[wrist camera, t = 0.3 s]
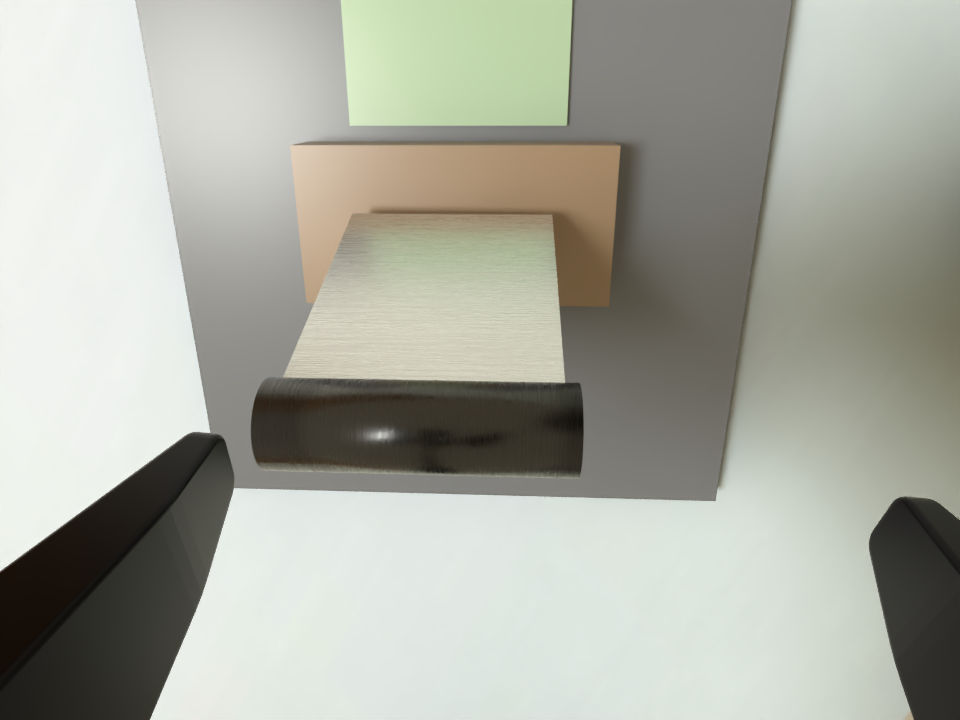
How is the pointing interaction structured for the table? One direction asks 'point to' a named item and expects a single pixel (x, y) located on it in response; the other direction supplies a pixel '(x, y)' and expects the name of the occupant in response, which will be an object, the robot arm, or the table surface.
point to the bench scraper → (429, 356)
